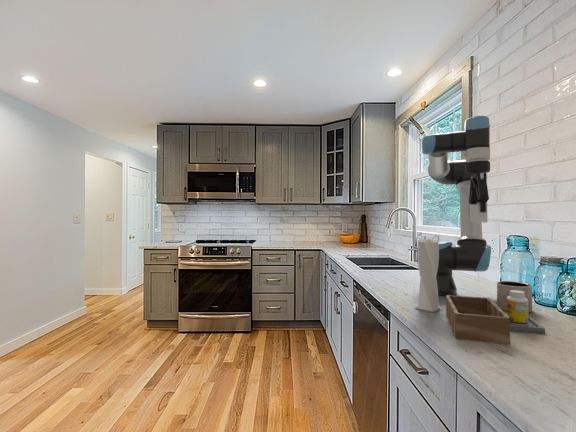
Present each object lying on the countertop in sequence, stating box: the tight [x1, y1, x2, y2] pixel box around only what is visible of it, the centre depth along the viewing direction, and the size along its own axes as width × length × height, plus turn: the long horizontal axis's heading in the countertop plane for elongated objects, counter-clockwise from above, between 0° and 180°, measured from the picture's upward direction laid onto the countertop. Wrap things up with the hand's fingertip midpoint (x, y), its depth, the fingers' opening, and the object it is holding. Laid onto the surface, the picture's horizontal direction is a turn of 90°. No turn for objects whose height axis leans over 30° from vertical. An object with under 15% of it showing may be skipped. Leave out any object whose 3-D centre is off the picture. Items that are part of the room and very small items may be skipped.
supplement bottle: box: [506, 290, 530, 326], centre depth 102 cm, size 6×6×10 cm
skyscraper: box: [414, 234, 442, 314], centre depth 122 cm, size 8×8×28 cm
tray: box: [510, 317, 546, 335], centre depth 103 cm, size 11×11×2 cm
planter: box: [496, 280, 533, 313], centre depth 122 cm, size 11×11×10 cm
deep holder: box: [445, 295, 511, 345], centre depth 102 cm, size 24×14×7 cm, turn 160°
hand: (478, 222), depth 114 cm, fingers open, 13 cm apart
